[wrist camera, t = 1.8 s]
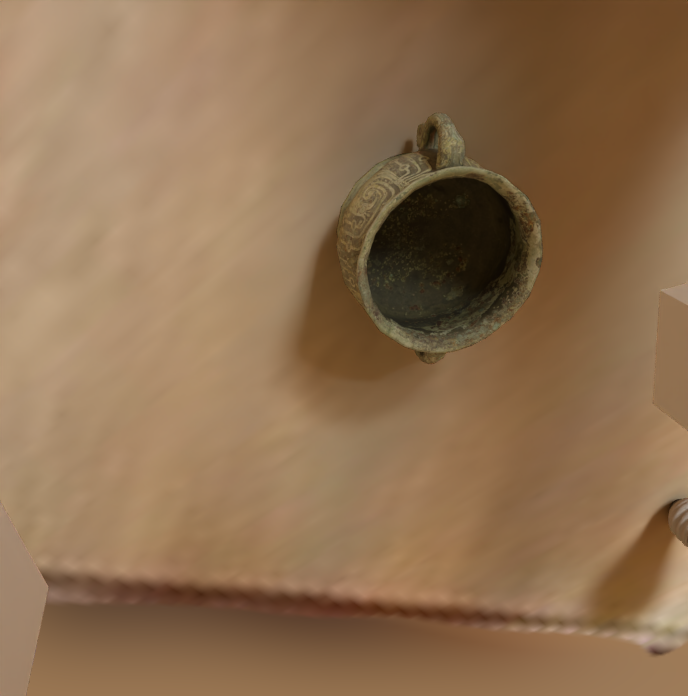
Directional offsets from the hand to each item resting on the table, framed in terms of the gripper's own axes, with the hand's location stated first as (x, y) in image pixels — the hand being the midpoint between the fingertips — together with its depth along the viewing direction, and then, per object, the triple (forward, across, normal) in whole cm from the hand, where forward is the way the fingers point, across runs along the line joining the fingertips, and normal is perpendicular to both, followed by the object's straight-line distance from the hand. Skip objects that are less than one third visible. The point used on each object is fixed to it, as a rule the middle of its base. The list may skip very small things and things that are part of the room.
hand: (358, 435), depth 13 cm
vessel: (+21, +8, -4) cm, 23 cm away
